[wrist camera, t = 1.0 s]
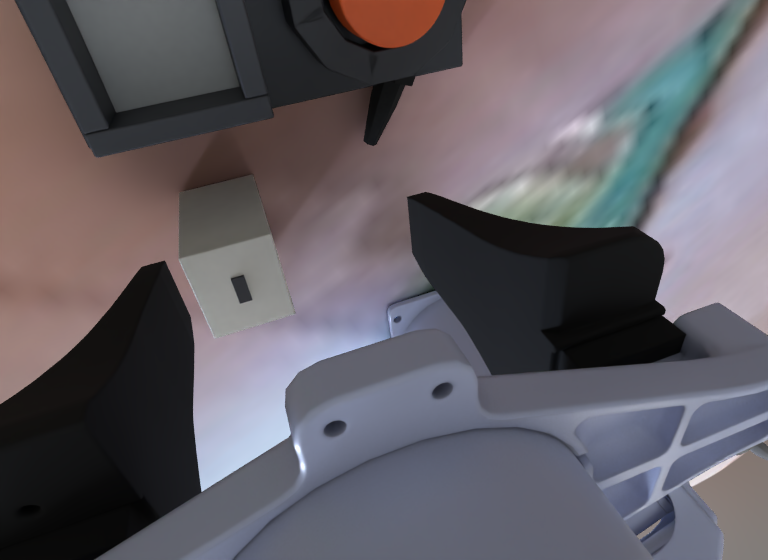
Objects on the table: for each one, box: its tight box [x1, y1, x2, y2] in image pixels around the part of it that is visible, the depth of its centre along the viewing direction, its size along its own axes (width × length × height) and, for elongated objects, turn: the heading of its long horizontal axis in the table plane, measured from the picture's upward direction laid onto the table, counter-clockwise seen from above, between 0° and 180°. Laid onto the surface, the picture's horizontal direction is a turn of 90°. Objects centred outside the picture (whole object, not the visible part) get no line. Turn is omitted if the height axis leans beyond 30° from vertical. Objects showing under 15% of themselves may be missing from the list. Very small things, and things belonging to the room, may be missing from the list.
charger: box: [179, 175, 295, 338], centre depth 21 cm, size 4×3×6 cm
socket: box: [17, 0, 274, 158], centre depth 16 cm, size 6×6×5 cm
